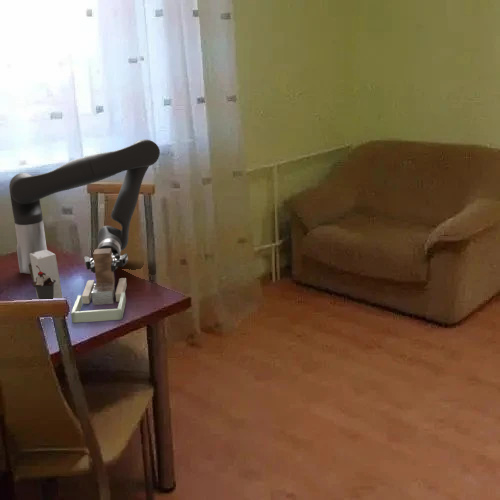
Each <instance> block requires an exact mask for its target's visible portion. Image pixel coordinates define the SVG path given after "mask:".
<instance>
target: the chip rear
mask: <svg viewBox="0 0 500 500" xmlns="http://www.w3.org/2000/svg"><path fill="white" fill-rule="evenodd" d="M100 287H113V291H114V298H116V295H115V293H116V289H115V287H114V282H107V283H94V286H93V288H100Z"/></svg>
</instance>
